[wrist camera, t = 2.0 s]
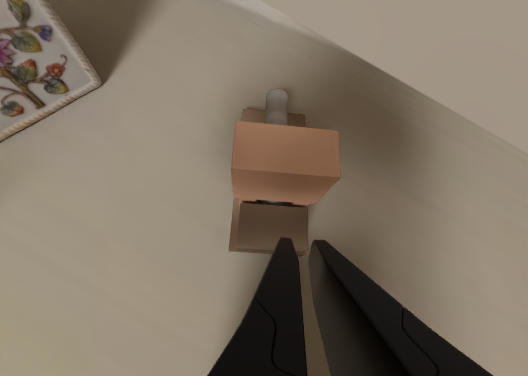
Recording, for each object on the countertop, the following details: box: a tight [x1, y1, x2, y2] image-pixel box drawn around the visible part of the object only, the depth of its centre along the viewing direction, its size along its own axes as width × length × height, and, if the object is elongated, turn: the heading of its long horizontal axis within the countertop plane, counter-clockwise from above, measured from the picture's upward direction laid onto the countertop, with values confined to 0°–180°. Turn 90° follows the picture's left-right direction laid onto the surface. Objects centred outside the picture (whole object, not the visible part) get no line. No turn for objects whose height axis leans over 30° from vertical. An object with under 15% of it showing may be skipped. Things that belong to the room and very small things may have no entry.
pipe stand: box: [229, 89, 308, 256], centre depth 22 cm, size 14×6×5 cm, turn 177°
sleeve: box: [231, 121, 341, 208], centre depth 18 cm, size 3×6×8 cm, turn 87°
